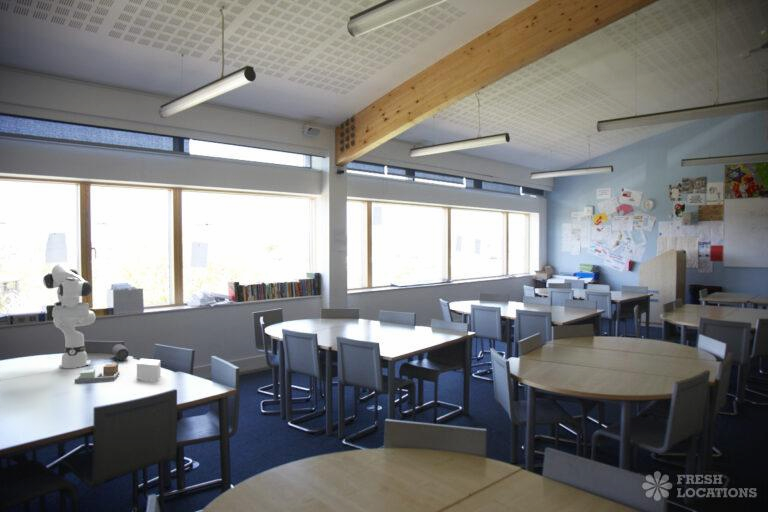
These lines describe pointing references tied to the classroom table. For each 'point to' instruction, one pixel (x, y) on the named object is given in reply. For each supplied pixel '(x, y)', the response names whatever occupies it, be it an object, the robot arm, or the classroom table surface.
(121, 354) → the bluetooth speaker
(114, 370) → the walnut block
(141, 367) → the white rectangular box
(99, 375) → the lane rack
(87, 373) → the sage block
